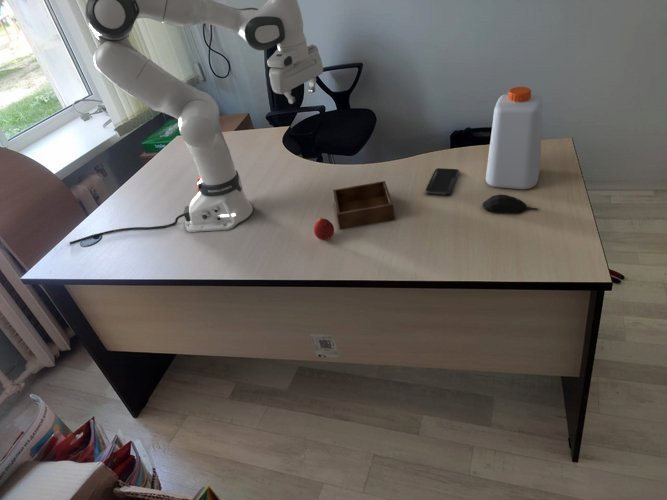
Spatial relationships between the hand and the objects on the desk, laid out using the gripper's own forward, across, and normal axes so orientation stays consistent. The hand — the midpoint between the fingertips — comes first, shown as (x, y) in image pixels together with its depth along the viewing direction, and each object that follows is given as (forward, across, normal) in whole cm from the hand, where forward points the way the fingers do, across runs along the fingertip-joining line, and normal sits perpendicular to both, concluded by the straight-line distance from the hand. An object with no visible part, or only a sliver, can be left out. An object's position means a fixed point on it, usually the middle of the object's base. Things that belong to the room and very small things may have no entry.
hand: (302, 97), depth 153 cm
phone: (+29, -15, +42) cm, 53 cm away
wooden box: (+29, +10, +28) cm, 42 cm away
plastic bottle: (+29, -27, +59) cm, 71 cm away
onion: (+29, +27, +28) cm, 49 cm away
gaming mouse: (+30, -10, +66) cm, 73 cm away
